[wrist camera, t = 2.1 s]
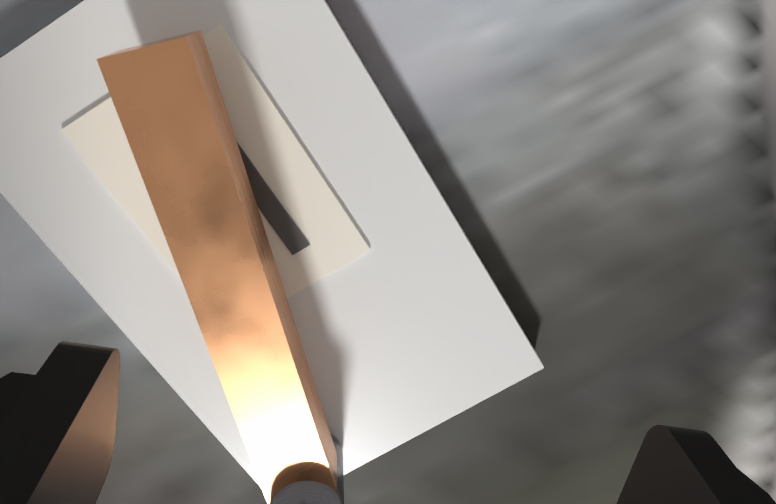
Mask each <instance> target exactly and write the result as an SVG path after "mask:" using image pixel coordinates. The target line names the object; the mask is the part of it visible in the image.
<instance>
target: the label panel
mask: <svg viewBox="0 0 776 504" xmlns="http://www.w3.org/2000/svg"><path fill="white" fill-rule="evenodd" d="M199 30H201V32H202V35H203V39H204V42H205V45H206V48H207V51H208V54H209V57H210V60H211V63H212V67H213V70H214V73H215V76H216V79H217V82H218V85H219V88H220V91H221V95H222V98H223V101H224V104H225V107H226V110H227V113H228V116H229V119H230V123H231V126H232V129H233V132H234V135H235V138H236V141H237V144H238V147H239V151H240V154H241V157H242V160H243V163H244V166H245V169H246V172H247V175H248V179H249V182H250V185H251V188H252V191H253V194H254V197H255V200H256V203H257V207H258V210H259V213H260V216H261V219H262V222H263V225H264V228H265V231H266V235H267V238H268V241H269V244H270V247H271V250H272V253H273V256H274V259H275V263H276V266H277V269H278V272H279V275H280V278H281V281H282V284H283V287H284V291H285V294H286V297H287V300H288V303H289V306H290V309H291V312H292V315H293V319H294V322H295V325H296V328H297V331H298V334H299V337H300V340H301V343H302V347H303V350H304V353H305V356H306V359H307V362H308V365H309V368H310V371H311V375H312V378H313V381H314V384H315V387H316V390H317V393H318V396H319V399H320V403H321V406H322V409H323V412H324V415H325V418H326V421H327V424H328V427H329V431H330V434H332V435H333V436H334V437H335V438H336V439H337V440H338V441H339V443H340V444H341V447H342V450H343V475H345V474H347V473H348V472H350V471H352V470H354V469H356V468H358V467H360V466H362V465H363V464H365V463H367V462H369V461H371V460H373V459H375V458H377V457H378V456H380V455H382V454H384V453H386V452H388V451H390V450H391V449H393V448H395V447H397V446H399V445H401V444H403V443H405V442H406V441H408V440H410V439H412V438H414V437H416V436H418V435H419V434H421V433H423V432H425V431H427V430H429V429H431V428H433V427H434V426H436V425H438V424H440V423H442V422H444V421H446V420H447V419H449V418H451V417H453V416H455V415H457V414H459V413H461V412H462V411H464V410H466V409H468V408H470V407H472V406H474V405H475V404H477V403H479V402H481V401H483V400H485V399H487V398H489V397H490V396H492V395H494V394H496V393H498V392H500V391H502V390H503V389H505V388H507V387H509V386H511V385H513V384H515V383H517V382H518V381H520V380H522V379H524V378H526V377H528V376H530V375H531V374H533V373H535V372H537V371H539V370H541V369H543V368H544V366H543V364H542V363H541V361H540V359H539V357H538V355H537V353H536V351H535V349H534V348H533V346H532V344H531V343H530V341H529V339H528V338H527V336H526V334H525V333H524V331H523V329H522V328H521V326H520V324H519V323H518V321H517V319H516V318H515V316H514V314H513V313H512V311H511V309H510V308H509V306H508V304H507V303H506V301H505V299H504V298H503V296H502V294H501V293H500V291H499V289H498V287H497V286H496V284H495V282H494V281H493V279H492V277H491V276H490V274H489V272H488V271H487V269H486V267H485V266H484V264H483V262H482V261H481V259H480V257H479V256H478V254H477V252H476V251H475V249H474V247H473V246H472V244H471V242H470V241H469V239H468V237H467V236H466V234H465V232H464V231H463V229H462V227H461V226H460V224H459V222H458V221H457V219H456V217H455V216H454V214H453V212H452V211H451V209H450V207H449V206H448V204H447V202H446V201H445V199H444V197H443V196H442V194H441V192H440V191H439V189H438V187H437V186H436V184H435V182H434V180H433V179H432V177H431V175H430V174H429V172H428V170H427V169H426V167H425V165H424V164H423V162H422V160H421V159H420V157H419V155H418V154H417V152H416V150H415V149H414V147H413V145H412V144H411V142H410V140H409V139H408V137H407V135H406V134H405V132H404V130H403V129H402V127H401V125H400V124H399V122H398V120H397V119H396V117H395V115H394V114H393V112H392V110H391V109H390V107H389V105H388V104H387V102H386V100H385V99H384V97H383V95H382V94H381V92H380V90H379V89H378V87H377V85H376V84H375V82H374V80H373V79H372V77H371V75H370V73H369V72H368V70H367V68H366V67H365V65H364V63H363V62H362V60H361V58H360V57H359V55H358V53H357V52H356V50H355V48H354V47H353V45H352V43H351V42H350V40H349V38H348V37H347V35H346V33H345V32H344V30H343V28H342V27H341V25H340V23H339V22H338V20H337V18H336V17H335V15H334V13H333V12H332V10H331V8H330V7H329V5H328V3H327V2H326V0H84V1H82V2H81V3H80V4H78V5H77V6H75V7H74V8H72V9H71V10H69V11H68V12H67V13H65V14H64V15H62V16H61V17H59V18H58V19H56V20H55V21H54V22H52V23H51V24H49V25H48V26H46V27H45V28H43V29H42V30H40V31H39V32H38V33H36V34H35V35H33V36H32V37H30V38H29V39H27V40H26V41H25V42H23V43H22V44H20V45H19V46H17V47H16V48H14V49H13V50H12V51H10V52H9V53H7V54H6V55H4V56H3V57H1V58H0V193H1V194H2V195H3V197H4V198H5V199H6V200H7V201H8V202H9V203H10V204H11V206H12V207H13V208H14V209H15V210H16V211H17V212H18V214H19V215H20V216H21V217H22V218H23V219H24V220H25V221H26V223H27V224H28V225H29V226H30V227H31V228H32V229H33V231H34V232H35V233H36V234H37V235H38V236H39V237H40V238H41V240H42V241H43V242H44V243H45V244H46V245H47V246H48V248H49V249H50V250H51V251H52V252H53V253H54V254H55V255H56V257H57V258H58V259H59V260H60V261H61V262H62V263H63V264H64V266H65V267H66V268H67V269H68V270H69V271H70V272H71V274H72V275H73V276H74V277H75V278H76V279H77V280H78V281H79V283H80V284H81V285H82V286H83V287H84V288H85V289H86V291H87V292H88V293H89V294H90V295H91V296H92V297H93V298H94V300H95V301H96V302H97V303H98V304H99V305H100V306H101V308H102V309H103V310H104V311H105V312H106V313H107V314H108V315H109V317H110V318H111V319H112V320H113V321H114V322H115V323H116V324H117V326H118V327H119V328H120V329H121V330H122V331H123V332H124V334H125V335H126V336H127V337H128V338H129V339H130V340H131V341H132V343H133V344H134V345H135V346H136V347H137V348H138V349H139V351H140V352H141V353H142V354H143V355H144V356H145V357H146V358H147V360H148V361H149V362H150V363H151V364H152V365H153V366H154V368H155V369H156V370H157V371H158V372H159V373H160V374H161V375H162V377H163V378H164V379H165V380H166V381H167V382H168V383H169V385H170V386H171V387H172V388H173V389H174V390H175V391H176V392H177V394H178V395H179V396H180V397H181V398H182V399H183V400H184V401H185V403H186V404H187V405H188V406H189V407H190V408H191V409H192V411H193V412H194V413H195V414H196V415H197V416H198V417H199V418H200V420H201V421H202V422H203V423H204V424H205V425H206V426H207V428H208V429H209V430H210V431H211V432H212V433H213V434H214V435H215V437H216V438H217V439H218V440H219V441H220V442H221V443H222V445H223V446H224V447H225V448H226V449H227V450H228V451H229V452H230V454H231V455H232V456H233V457H234V458H235V459H236V460H237V461H238V463H239V464H240V465H241V466H242V467H243V468H244V469H245V471H246V472H247V473H248V474H249V475H250V476H251V477H252V478H253V480H254V481H255V482H256V483H257V484H258V485H259V486H260V488H261V485H260V483H259V480H258V478H257V475H256V472H255V470H254V467H253V465H252V462H251V459H250V457H249V454H248V452H247V449H246V446H245V444H244V441H243V439H242V436H241V433H240V431H239V428H238V426H237V423H236V420H235V418H234V415H233V413H232V410H231V407H230V405H229V402H228V400H227V397H226V394H225V392H224V389H223V387H222V384H221V381H220V379H219V376H218V374H217V371H216V368H215V366H214V363H213V361H212V358H211V355H210V353H209V350H208V348H207V345H206V343H205V340H204V337H203V335H202V332H201V330H200V327H199V324H198V322H197V319H196V317H195V314H194V311H193V309H192V306H191V304H190V301H189V298H188V296H187V293H186V291H185V288H184V285H183V283H182V280H181V278H180V275H179V272H178V270H177V267H176V265H175V262H174V259H173V257H172V254H171V252H170V249H169V246H168V244H167V241H166V239H165V236H164V233H163V231H162V228H161V226H160V223H159V220H158V218H157V215H156V213H155V210H154V207H153V205H152V202H151V200H150V197H149V194H148V192H147V189H146V187H145V184H144V181H143V179H142V176H141V174H140V171H139V169H138V166H137V163H136V161H135V158H134V156H133V153H132V150H131V148H130V145H129V143H128V140H127V137H126V135H125V132H124V130H123V127H122V124H121V122H120V119H119V117H118V114H117V111H116V109H115V106H114V104H113V101H112V98H111V96H110V93H109V91H108V88H107V85H106V83H105V80H104V78H103V75H102V72H101V70H100V67H99V65H98V62H97V59H98V58H100V57H103V56H106V55H108V54H111V53H114V52H116V51H119V50H122V49H126V48H131V47H135V46H139V45H143V44H147V43H151V42H155V41H159V40H163V39H167V38H171V37H175V36H179V35H183V34H187V33H191V32H195V31H199ZM261 489H262V488H261Z"/></svg>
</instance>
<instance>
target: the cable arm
mask: <svg viewBox="0 0 776 504" xmlns="http://www.w3.org/2000/svg"><path fill="white" fill-rule="evenodd" d="M97 62H98V65H99V67H100V70H101V72H102V75H103V78H104V80H105V83H106V85H107V88H108V91H109V93H110V96H111V98H112V101H113V104H114V106H115V109H116V111H117V114H118V117H119V119H120V122H121V124H122V127H123V130H124V132H125V135H126V137H127V140H128V143H129V145H130V148H131V150H132V153H133V156H134V158H135V161H136V163H137V166H138V169H139V171H140V174H141V176H142V179H143V181H144V184H145V187H146V189H147V192H148V194H149V197H150V200H151V202H152V205H153V207H154V210H155V213H156V215H157V218H158V220H159V223H160V226H161V228H162V231H163V233H164V236H165V239H166V241H167V244H168V246H169V249H170V252H171V254H172V257H173V259H174V262H175V265H176V267H177V270H178V272H179V275H180V278H181V280H182V283H183V285H184V288H185V291H186V293H187V296H188V298H189V301H190V304H191V306H192V309H193V311H194V314H195V317H196V319H197V322H198V324H199V327H200V330H201V332H202V335H203V337H204V340H205V343H206V345H207V348H208V350H209V353H210V355H211V358H212V361H213V363H214V366H215V368H216V371H217V374H218V376H219V379H220V381H221V384H222V387H223V389H224V392H225V394H226V397H227V400H228V402H229V405H230V407H231V410H232V413H233V415H234V418H235V420H236V423H237V426H238V428H239V431H240V433H241V436H242V439H243V441H244V444H245V446H246V449H247V452H248V454H249V457H250V459H251V462H252V465H253V467H254V470H255V472H256V475H257V478H258V480H259V483H260V485H261V488H262V491H263V493H264V496H265V498H266V501H267V504H344V478H343V450H342V447H341V444H340V443H339V441H338V440H337V439H336V438H335V437H334V436H333V435H332V434H330V431H329V427H328V424H327V421H326V418H325V415H324V412H323V409H322V406H321V403H320V399H319V396H318V393H317V390H316V387H315V384H314V381H313V378H312V375H311V371H310V368H309V365H308V362H307V359H306V356H305V353H304V350H303V347H302V343H301V340H300V337H299V334H298V331H297V328H296V325H295V322H294V319H293V315H292V312H291V309H290V306H289V303H288V300H287V297H286V294H285V291H284V287H283V284H282V281H281V278H280V275H279V272H278V269H277V266H276V263H275V259H274V256H273V253H272V250H271V247H270V244H269V241H268V238H267V235H266V231H265V228H264V225H263V222H262V219H261V216H260V213H259V210H258V207H257V203H256V200H255V197H254V194H253V191H252V188H251V185H250V182H249V179H248V175H247V172H246V169H245V166H244V163H243V160H242V157H241V154H240V151H239V147H238V144H237V141H236V138H235V135H234V132H233V129H232V126H231V123H230V119H229V116H228V113H227V110H226V107H225V104H224V101H223V98H222V95H221V91H220V88H219V85H218V82H217V79H216V76H215V73H214V70H213V67H212V63H211V60H210V57H209V54H208V51H207V48H206V45H205V42H204V39H203V35H202V32H201V30H199V31H195V32H191V33H187V34H183V35H179V36H175V37H171V38H167V39H163V40H159V41H155V42H151V43H147V44H143V45H139V46H135V47H131V48H126V49H122V50H119V51H116V52H114V53H111V54H108V55H106V56H103V57H100V58H98V59H97Z"/></svg>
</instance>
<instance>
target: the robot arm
mask: <svg viewBox="0 0 776 504" xmlns="http://www.w3.org/2000/svg"><path fill="white" fill-rule="evenodd" d="M119 372H120V353H119V350H118V349H115V348H108V347H101V346H94V345H86V344H79V343H72V342H65V341H62V342H60V343H59V344H58V345H57V346H56V348H55V349H54V350H53V352H52V353H51V355H50V356H49V357H48V359H47V360H46V361H45V363H44V364H43V366H42V367H41V368H40V370H39V371H38V373H37V374H36V375H30V374H22V373H15V372H11V373H9V374H7V375H5V376H4V377H2V378H0V504H95V503H96V500H97V498H98V496H99V494H100V491H101V489H102V487H103V484H104V482H105V479H106V476H107V473H108V470H109V466H110V462H111V458H112V453H113V447H114V440H115V428H116V414H117V400H118V386H119ZM617 504H776V503H775V501H774V500H773V499H772V498H771V496H770V495H769V494H768V493H767V492H766V491H764V490H763V489H762V488H761V487H759V486H758V485H757V484H756V483H754V482H753V481H752V480H751V479H750V478H748V477H747V476H746V475H745V474H743V473H742V472H741V471H740V470H738V469H737V468H736V466H735V465H734V464H733V463H732V461H731V460H730V459H729V458H728V456H727V455H726V454H725V452H724V451H723V450H722V449H721V447H720V446H719V445H718V444H717V442H716V441H715V440H714V438H713V437H712V436H711V435H710V434H708V433H707V432H705V431H700V430H693V429H685V428H678V427H671V426H663V425H656V426H654V427H652V428H651V429H650V430H649V431H648V432H647V434H646V436H645V438H644V440H643V443H642V445H641V447H640V450H639V452H638V454H637V457H636V459H635V461H634V464H633V466H632V468H631V471H630V473H629V475H628V478H627V480H626V482H625V485H624V487H623V489H622V492H621V494H620V497H619V499H618V502H617Z"/></svg>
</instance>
